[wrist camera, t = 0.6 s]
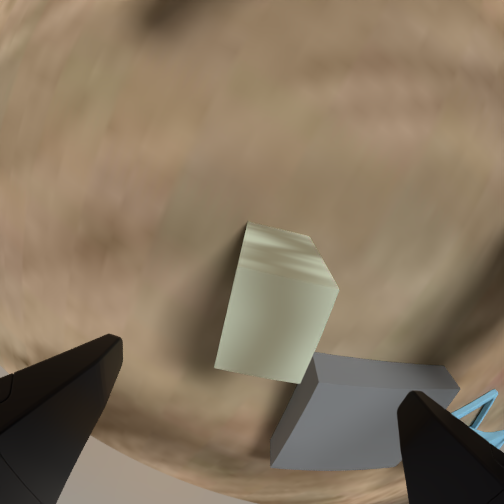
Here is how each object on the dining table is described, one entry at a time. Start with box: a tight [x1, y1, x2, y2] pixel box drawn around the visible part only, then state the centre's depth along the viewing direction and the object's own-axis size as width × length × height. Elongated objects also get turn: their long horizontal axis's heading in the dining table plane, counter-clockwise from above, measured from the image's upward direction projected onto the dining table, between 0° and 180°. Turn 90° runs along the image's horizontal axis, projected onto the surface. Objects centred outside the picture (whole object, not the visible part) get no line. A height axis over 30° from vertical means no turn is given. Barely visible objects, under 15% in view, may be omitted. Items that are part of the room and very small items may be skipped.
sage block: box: [214, 221, 339, 384], centre depth 16 cm, size 4×5×8 cm
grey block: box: [270, 352, 460, 471], centre depth 22 cm, size 14×12×4 cm
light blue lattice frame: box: [451, 389, 504, 449], centre depth 19 cm, size 8×8×12 cm
